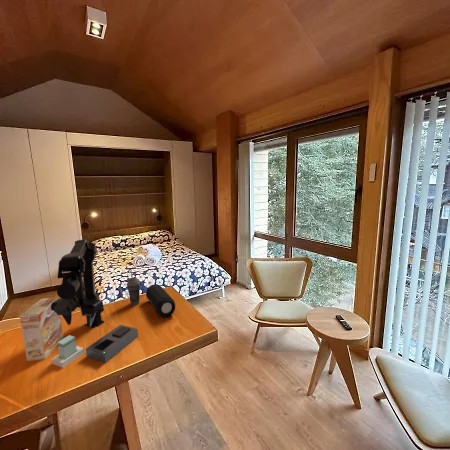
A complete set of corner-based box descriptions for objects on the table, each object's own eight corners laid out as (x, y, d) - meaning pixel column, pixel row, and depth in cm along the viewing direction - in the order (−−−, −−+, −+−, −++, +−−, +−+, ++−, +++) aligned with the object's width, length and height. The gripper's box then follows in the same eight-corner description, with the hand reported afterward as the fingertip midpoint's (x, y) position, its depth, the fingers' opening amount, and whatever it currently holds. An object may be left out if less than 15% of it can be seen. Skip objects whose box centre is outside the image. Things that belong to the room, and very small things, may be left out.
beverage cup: (134, 307, 138) (131, 273, 135) (125, 304, 142) (122, 271, 139) (144, 302, 144) (141, 269, 141) (136, 299, 148) (133, 267, 145)
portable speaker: (145, 301, 146) (144, 285, 145) (162, 297, 151) (161, 281, 150) (158, 321, 125) (157, 302, 123) (177, 315, 130) (176, 297, 128)
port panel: (86, 357, 99) (85, 347, 98) (121, 332, 115) (120, 323, 114) (105, 364, 95) (104, 353, 94) (138, 337, 112) (137, 327, 111)
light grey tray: (52, 364, 95) (51, 359, 95) (74, 350, 104) (73, 344, 103) (63, 368, 93) (62, 362, 93) (84, 353, 101) (83, 348, 101)
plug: (59, 361, 97) (57, 342, 95) (71, 353, 101) (69, 335, 100) (65, 363, 95) (63, 344, 94) (77, 355, 100) (75, 336, 99)
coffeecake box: (46, 360, 98) (38, 314, 95) (26, 362, 97) (18, 316, 94) (64, 337, 113) (58, 296, 109) (46, 339, 112) (40, 298, 108)
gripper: (35, 295, 90) (41, 335, 92) (81, 298, 87) (86, 339, 89) (60, 283, 101) (65, 319, 103) (102, 285, 97) (106, 322, 100)
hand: (79, 325), depth 99 cm, fingers open, 9 cm apart
